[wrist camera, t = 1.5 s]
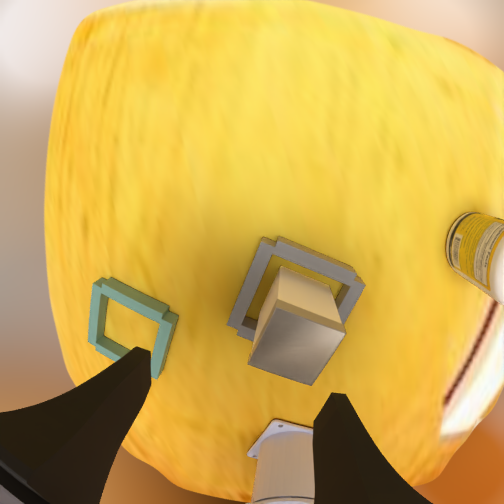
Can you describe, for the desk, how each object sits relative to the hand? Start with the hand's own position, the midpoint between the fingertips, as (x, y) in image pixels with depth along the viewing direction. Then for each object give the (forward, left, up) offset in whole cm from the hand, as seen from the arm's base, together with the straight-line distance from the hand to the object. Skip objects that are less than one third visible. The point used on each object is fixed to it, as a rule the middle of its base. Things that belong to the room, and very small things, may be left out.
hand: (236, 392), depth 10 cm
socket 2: (-3, 0, -12) cm, 12 cm away
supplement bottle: (-15, -10, -12) cm, 21 cm away
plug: (-3, 0, -12) cm, 12 cm away
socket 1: (+9, +9, -12) cm, 18 cm away
